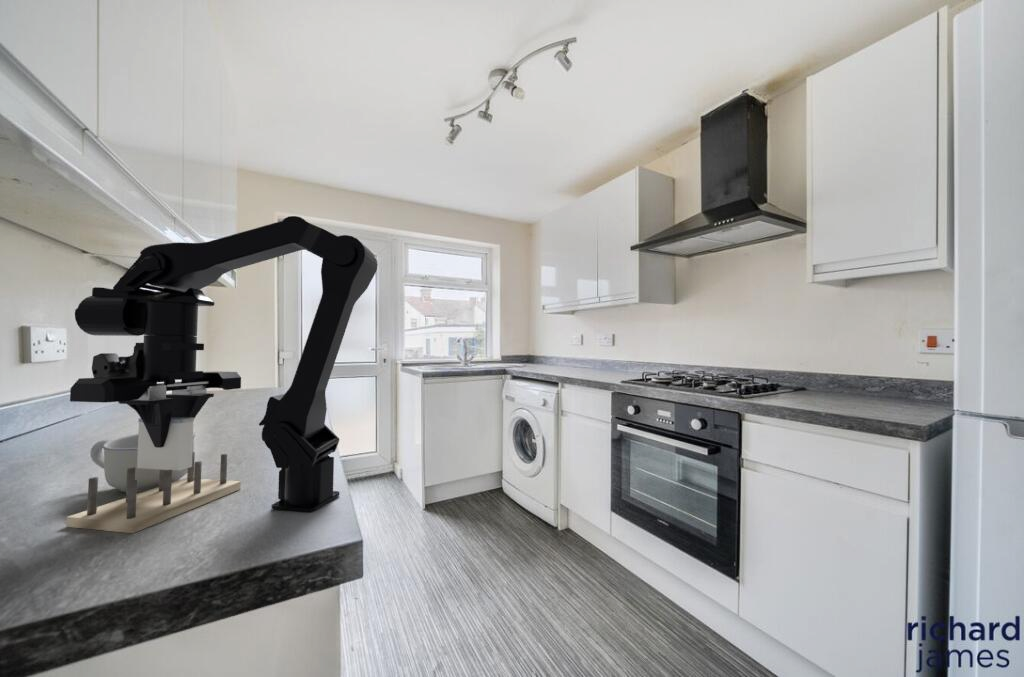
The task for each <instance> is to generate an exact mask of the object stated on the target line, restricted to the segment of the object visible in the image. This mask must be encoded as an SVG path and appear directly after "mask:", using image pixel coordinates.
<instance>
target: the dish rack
mask: <svg viewBox="0 0 1024 677" xmlns="http://www.w3.org/2000/svg"><path fill="white" fill-rule="evenodd" d="M195 453H196V452H195V451H194V452H192V467H189V468H188V473H187V474H186V475H187V476H186V478H183V479H182V478H181V479H180V480H179V481H176V482H173V483H172V470H160V473H159V487H157V488H154V489H151V490H148V491H145V492H140V493H137V480H135V467H132V468H128V469H127V485H126V492H125V497H124V498H122V499H117V500H114V501H111V502H108V503H105V504H103V505H100V506H97V505H98V488H99V477H98V476H94V477H90V478H88V487H87V488H88V490H87V508H86V510H84V511H80V512H77V513H75V514H71V515H67V516H66V521H65V522H66V523H65V527H66V528H74V529H85V530H96V531H107V532H117V533H128V534H134V533H137V532H139V531H142V530H144V529H147V528H149V527H152V526H154V525H157V524H159V523H162V522H164V521H166V520H168V519H171V518H173V517H176V516H178V515H179V516H180V515H181V514H184V513H187V512H188V511H191V510H193V509H196V508H198V507H200V506H204V505H205V504H208V503H210V502H212V501H215V500H218V499H221V498H223V497H225V496H227V495H230V494H232V493H235V492H237V491H239V490H241V486H242V484H241V483H242V481H237V480H227V472H228V470H227V469H228V453H221V454H220V468H219V469H220V470H219V474H220V475H219V479H210V478H209V479H208V478H202V464H203V462H202V460H198V461H197V460H196V461H195V459H196V458H195V457H196V456H195V455H196V454H195Z"/></svg>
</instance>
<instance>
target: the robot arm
mask: <svg viewBox="0 0 1024 677" xmlns="http://www.w3.org/2000/svg"><path fill="white" fill-rule="evenodd" d="M304 250H305V251H307V252H309V253H311V254H313V255H315V256H317V257H319V258H321V259H322V261H321V268H320V275H321V285H322V286H321V288H322V289H321V290H322V293H321V297H320V300H319V303H318V305H317V309H316V312H315V315H314V317H313V320H312V323H311V326H310V330H309V332H308V335H307V339H306V341H305V345H304V347H303V350H302V353H301V355H300V358H299V362H298V364H297V369H296V370H295V374H294V375H293V376H294V377H293V379H292V382H291V384H290V387H289V388H288V389H287V390H286V392H285V393H283V394H277V395H273V396H270V397H269V398H268V401H267V404H266V409H265V410H266V411H265V415H264V417H263V418H262V420H260V422H259V423H258V426H259V427H261V426H262V430H261V439H262V441H263V442H264V445H265V446H266V447H267V448H268V449H269V450H270V453H271V456H272V458H273V461H274V464H275V467H276V468H277V469H280V470H278V484H277V485H278V488H277V490H278V491H277V493H278V494H277V496H278V497H277V498H278V501H276V502H274V503H271V509H273V510H283V511H284V510H285V511H287V510H288V511H299V512H314V511H316V510H317V509H319V508H321V507H322V506H324V505H326V504H327V503H329V502H330V501H333V500H334V499H336V498H337V497H339V496H340V494H341V493H340V491H338V490H337V491H336V490H334V474H335V472H334V469H335V468H334V467H335V457H334V456H330V455H331V454H333V453H335V452H336V450H337V448H338V447H339V446H338V445H339V443H340V438H339V437H338V436H337V435H336V434H335V433H334V432H333V431H332V430H331V429H330V428H329V426H327V425H326V424H325V423H326V417H327V399H326V398H327V397H326V391H327V387H328V385H329V384H328V383H329V381H330V378H331V375H332V372H333V369H334V366H335V363H336V360H337V357H338V354H339V351H340V348H341V345H342V343H343V339H344V336H345V333H346V330H347V327H348V324H349V321H350V318H351V315H352V312H353V309H354V307H355V304H356V302H357V301H358V300H359V299H360V298H361V297H362V295H363V294H364V293H365V292H366V291H367V289H368V288H369V286H370V284H371V282H372V280H373V278H374V276H375V275H376V273H377V270H378V260H377V258H376V256H375V254H374V253H373V252H372V250H370V249H369V248H368V247H367V246H366V245H365V244H363V242H362V241H360V240H359V239H358V238H357V237H355V236H352V235H347V234H343V235H336V234H334V233H332V232H330V231H328V230H326V229H324V228H323V227H319V226H317V225H315V224H313V223H310V222H308V221H307V220H306V219H304V218H302V217H301V216H297V215H290V216H287V217H285V218H283V219H282V220H280V221H277V222H273V223H269V224H266V225H263V226H259V227H258V226H257V227H255V228H252V229H248V230H245V231H241V232H238V233H234V234H230V235H227V236H223V237H220V238H217V239H213V240H210V241H205V242H176V241H175V242H169V243H168V242H167V243H161V244H160V243H159V244H158V243H157V244H151V245H148V246H147V247H144V248H143V249H142V250H140V252H139V254H140V255H139V256H138V257H137V259H136V260H135V261H134V262H133V264H132V265H131V266H130V267H129V268H128V269H127V270H126V272H125V273H124V274H123V275H122V276H121V277H119V280H118V281H117V282H116V283H115V284H114V286H113V288H107V287H97V286H96V287H93V288H92V289H91V290H92V292H91V295H89V296H87V297H85V298H84V299H83V300H81V302H79V304H78V306H77V308H75V309H74V319H75V322H76V325H78V327H79V329H80V330H82V332H84V333H86V334H88V335H91V336H108V337H109V336H110V337H111V336H112V337H113V336H118V337H119V336H120V337H121V336H128V337H129V336H130V337H132V336H135V337H139V336H143V342H135V345H134V346H133V353H132V355H128V356H119V354H118V353H109V352H108V353H106V352H105V353H104V352H103V353H99V354H96V355H94V356H93V357H92V364H91V372H92V377H83V378H82V377H80V378H78V379H77V380H76V381H75V383H73V385H72V386H71V387H70V394H69V402H74V403H75V402H77V403H80V402H81V403H116V402H117V403H118V404H121V405H127V406H129V407H130V408H131V409H132V410H134V411H135V412H136V413H137V414H138V416H139V418H141V419H142V421H143V423H144V425H145V427H146V429H147V432H148V434H149V436H150V438H151V440H152V442H153V444H154V446H155V447H157V448H161V447H163V446H164V444H165V441H166V438H167V435H168V430H169V425H170V420H171V417H193V418H194V419H196V417H197V416H198V414H199V412H200V411H201V409H202V408H203V407H204V406H205V404H206V403H207V401H208V400H209V399H210V398H214V397H215V393H211V392H210V393H209V392H208V393H207V391H208V390H207V389H223V391H224V390H225V391H230V390H238V389H242V377H241V375H240V374H239V373H238V372H237V371H204V370H197V351H204V350H205V344H204V343H201V342H200V343H199V342H198V320H199V317H198V316H199V307H213V306H214V305H215V301H213V300H212V299H211V298H210V297H208V296H207V295H206V294H205V293H204V292H203V290H201V289H203V288H206V287H208V286H209V285H212V284H215V283H216V282H217V281H218V280H219V279H220V278H221V277H222V276H223V275H224V274H226V273H229V272H231V271H234V270H238V269H241V268H244V267H248V266H251V265H255V264H259V263H261V262H265V261H268V260H272V259H275V258H279V257H282V256H285V255H289V254H292V253H296V252H299V251H304ZM176 380H180V381H176ZM167 392H171V393H168V394H167Z"/></svg>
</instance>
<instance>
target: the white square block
mask: <svg viewBox="0 0 1024 677" xmlns="http://www.w3.org/2000/svg"><path fill="white" fill-rule="evenodd" d="M194 421H195V418H193V417H171V420H170V425H169V430H168V435H167V438H166V441H165V444H164V446H163V447H161V448H157V447H155V446H154V444H153V442H152V440H151V438H150V436H149V434H148V432H147V429H146V427H145V425H144V423H143V421H142V419H141V418H140V417H139V418H138V433H137V434H138V457H137V468H143V469H160V470H178V471H179V470H183V469H186V468H189V467H192V451H193V433H194Z"/></svg>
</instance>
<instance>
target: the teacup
mask: <svg viewBox="0 0 1024 677" xmlns="http://www.w3.org/2000/svg"><path fill="white" fill-rule="evenodd" d="M195 437H196V433H195V432H193V451H192V452H195V450H194V449H195ZM103 452H104V453H103ZM137 457H138V433H137V434H129V435H127V436H121V437H118V438H115V439H112V438H106V439H105V438H104V439H101V440H99V441H97V442H95V443H94V444H93V445H92V446H91V449H90V458H91V461H92V462H94V464H96V465H97V466H98V467H100V468H101V469H103V470H104V477H105V480H106V483H107V484H108V485H109V486H110V487H112V488H113V489H116V490H119V491H120V492H122V493H126V485H127V469H128V468H132V467H135V480H137V494H139V493H142V492H145V491H148V490H151V489H154V488H157V487H159V473H160V469H143V468H137ZM187 474H188V468H186V469H183V470H179V471H178V470H172V483H173V482H176V481H179V480H181V479H182V478H183V477H184V476H185V475H187Z"/></svg>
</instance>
